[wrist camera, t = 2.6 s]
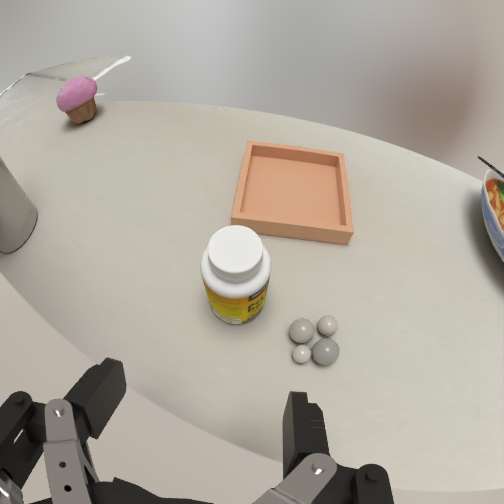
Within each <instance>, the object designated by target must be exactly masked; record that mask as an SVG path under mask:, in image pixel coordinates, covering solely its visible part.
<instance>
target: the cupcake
mask: <svg viewBox="0 0 504 504" xmlns="http://www.w3.org/2000/svg"><path fill="white" fill-rule="evenodd" d="M96 92H97V85H96V82H95V81H94V80H93V79H92V78H89V77H86V76H79V77H76V78H74V79H72V80H70V81H69V82H67V83H66V84H65V85H64V86H63V87H62V88H61V90H60V92H59V93H58V94H57V105H58V107H59V109H60V110H61V111H63V112H64V111H65V113H66V114H67V115H68V116H69V118H70V119H71V120H72V121H73V122H75V123H77V124H80V123H82V122H84V121H88V120H91V119H92V118H93V116H94V114H95V112H96V104H95V100H94V95H95V94H96Z"/></svg>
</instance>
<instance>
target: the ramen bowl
mask: <svg viewBox="0 0 504 504" xmlns="http://www.w3.org/2000/svg"><path fill="white" fill-rule="evenodd" d="M478 158H479V159H480V158H481V157H478ZM480 160H481V161H483V162H484V161H485V160H484V159H482V158H481V159H480ZM484 163H485V164H486V165H488V164H489V163H488V162H487V161H485V162H484ZM488 166H489V167H490V168H491V169H488V170H486V174H485V177H484V181H483V186H482V195H481V203H482V212H483V217H484V223H485V226H486V229H487V232H488V234H489V237H490V239H491V242H492V245H493V246H494V248H495V250H496V251H497V253H498V255H499V256H500V258H501V260H502V261H503V262H504V170H501V169H499V168H496V167H494V166H492V165H490V164H489V165H488ZM492 167H493V168H492Z"/></svg>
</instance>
